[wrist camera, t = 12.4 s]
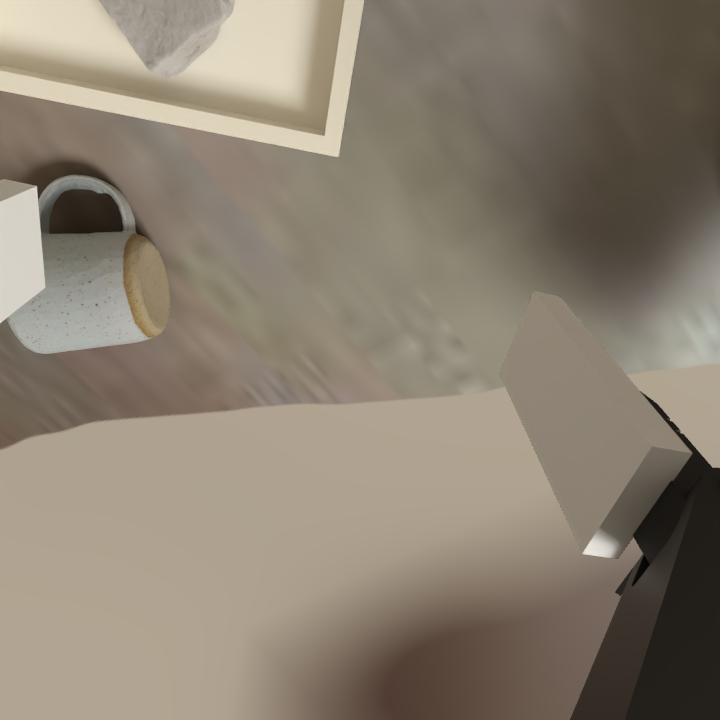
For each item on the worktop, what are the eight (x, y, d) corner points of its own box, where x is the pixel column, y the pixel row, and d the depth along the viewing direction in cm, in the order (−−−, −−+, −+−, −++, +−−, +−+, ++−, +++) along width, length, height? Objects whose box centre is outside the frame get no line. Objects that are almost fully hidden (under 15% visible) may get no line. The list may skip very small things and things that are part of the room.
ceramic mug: (184, 312, 40) (154, 363, 33) (77, 321, 40) (25, 375, 33) (144, 165, 34) (98, 191, 28) (20, 177, 34) (-56, 206, 28)
